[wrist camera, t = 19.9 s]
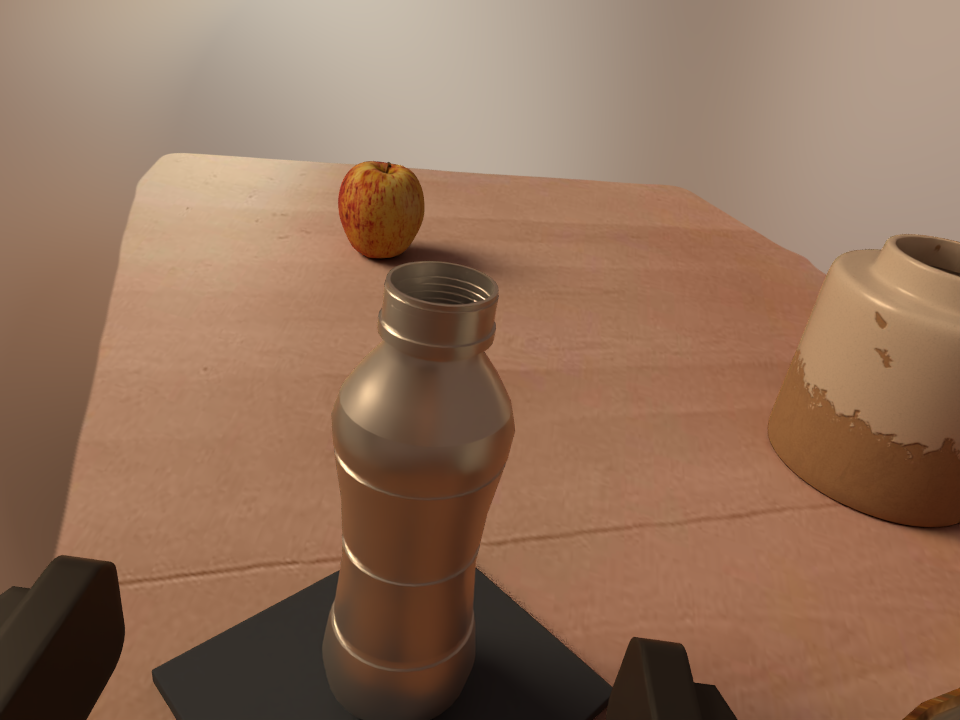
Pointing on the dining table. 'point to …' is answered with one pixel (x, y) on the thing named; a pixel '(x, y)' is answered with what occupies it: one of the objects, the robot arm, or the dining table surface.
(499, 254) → the dining table surface
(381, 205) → the apple
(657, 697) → the robot arm
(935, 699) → the bowl
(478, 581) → the mat
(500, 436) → the silver metal bottle
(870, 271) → the vase
